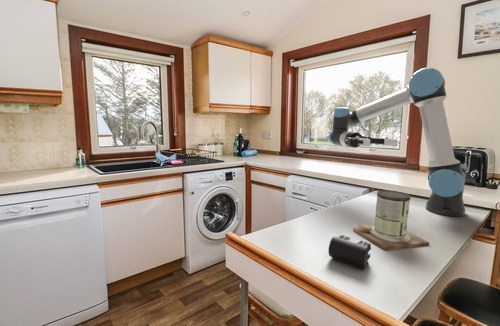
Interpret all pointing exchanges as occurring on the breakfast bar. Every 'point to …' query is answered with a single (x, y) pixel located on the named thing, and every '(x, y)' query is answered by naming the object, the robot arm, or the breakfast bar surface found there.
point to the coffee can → (391, 213)
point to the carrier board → (389, 239)
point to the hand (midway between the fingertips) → (383, 142)
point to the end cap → (350, 251)
